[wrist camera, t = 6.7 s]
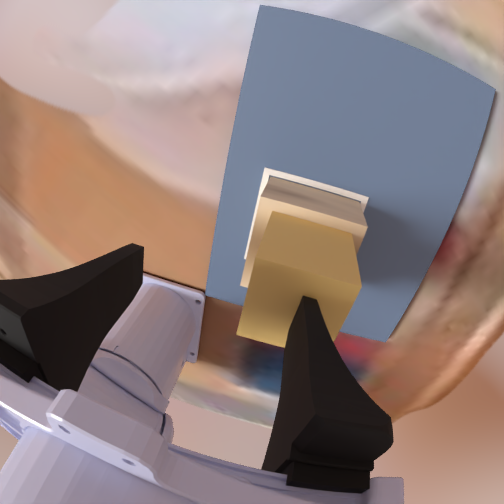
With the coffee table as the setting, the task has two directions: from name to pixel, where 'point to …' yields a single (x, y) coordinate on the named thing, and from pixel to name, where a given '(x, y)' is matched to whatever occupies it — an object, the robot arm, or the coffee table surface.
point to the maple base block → (303, 214)
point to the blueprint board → (351, 150)
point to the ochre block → (299, 278)
